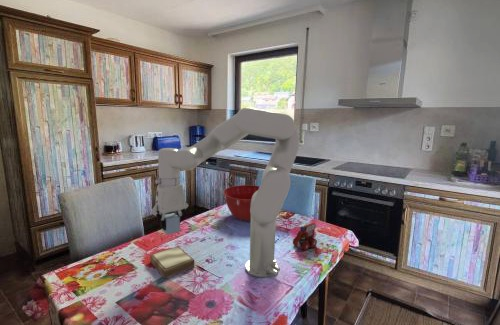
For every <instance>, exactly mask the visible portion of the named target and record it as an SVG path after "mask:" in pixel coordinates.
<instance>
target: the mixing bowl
mask: <svg viewBox="0 0 500 325" xmlns="http://www.w3.org/2000/svg"><path fill="white" fill-rule="evenodd" d="M259 187H260V185H252V184H249V185H248V184H242V185H234V186H233V185H232V186H230V187H229V186H228V187H227V188H225V189H224V190H223V192H222V193H223V196H224V200H225V203H226V205H227V208H228V210H229V211H230V213H231V215H232V216H233V217H235V218H236V219H237V220H240V221H246V222H248V221H250V222H251V213H250V207H251V199H252V196H253V194H254V193H255V192H256V191H258V189H259Z"/></svg>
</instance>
